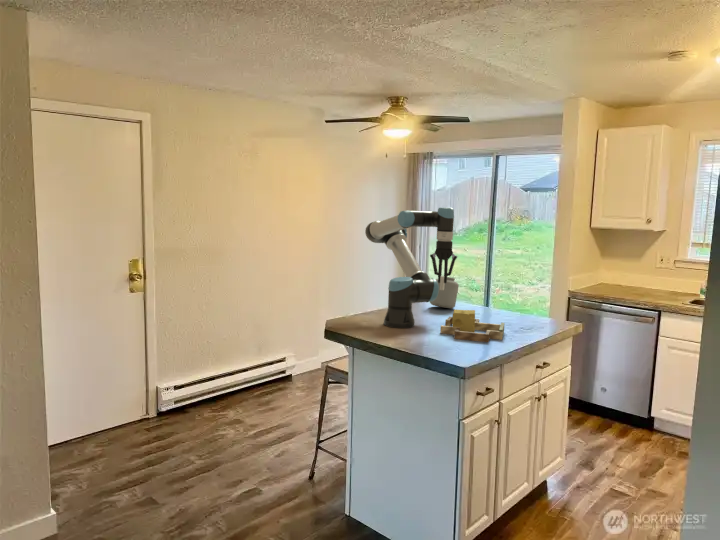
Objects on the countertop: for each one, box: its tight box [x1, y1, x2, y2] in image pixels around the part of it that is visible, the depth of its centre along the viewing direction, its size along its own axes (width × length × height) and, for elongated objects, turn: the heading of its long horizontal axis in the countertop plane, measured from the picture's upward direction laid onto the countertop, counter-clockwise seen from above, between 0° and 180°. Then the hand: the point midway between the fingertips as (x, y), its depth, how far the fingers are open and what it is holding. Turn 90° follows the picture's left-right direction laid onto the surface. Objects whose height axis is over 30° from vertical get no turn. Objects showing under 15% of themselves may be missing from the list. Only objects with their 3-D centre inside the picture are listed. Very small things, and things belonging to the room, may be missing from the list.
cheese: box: [451, 308, 476, 333], centre depth 254 cm, size 10×11×10 cm
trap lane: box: [440, 316, 505, 343], centre depth 253 cm, size 28×31×4 cm
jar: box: [429, 276, 460, 309], centre depth 310 cm, size 19×15×25 cm
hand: (442, 289), depth 256 cm, fingers closed
